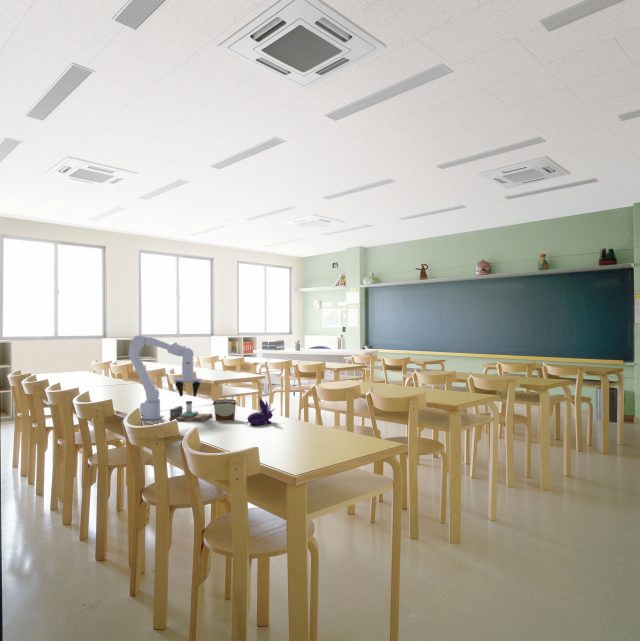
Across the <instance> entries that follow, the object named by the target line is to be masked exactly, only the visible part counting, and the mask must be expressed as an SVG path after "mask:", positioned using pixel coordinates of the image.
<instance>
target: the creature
mask: <svg viewBox="0 0 640 641" xmlns="http://www.w3.org/2000/svg"><path fill="white" fill-rule="evenodd" d="M258 401H259V408H260V410H259V411H254V412H251V413H250V414H249V415H248V416H247V418H246V419H247V422H245V423H246V424H250V425H254V426H260V425H261V426H262V425H265V424H266V423H267V424H269V425H270V424H272V421H271V419H272V417H273V416H274V415H273V413H272V412H274V411H275V408H273V409H271V410H270V406H269V403H268V402H267V400H265V402H264V400H263V399H262V398H261V397H259V400H258Z"/></svg>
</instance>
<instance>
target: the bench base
mask: <svg viewBox="0 0 640 641" xmlns="http://www.w3.org/2000/svg"><path fill="white" fill-rule="evenodd" d="M182 413H183V406H182V405H178V406H175V407H174V408H173V407H172V408H170V409H169V417H168V418H169V419H168V420H174V419H176V420H178V421H177V422H195V421H199V422H200V423H201V422H202V423H203V422H206V421H207V420H209V419H211V418H213V413H198V414H196V415H194V416H192V417H180V414H182Z"/></svg>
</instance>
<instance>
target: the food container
mask: <svg viewBox="0 0 640 641" xmlns="http://www.w3.org/2000/svg"><path fill="white" fill-rule="evenodd" d="M212 405H213V408H214V417H215V418H214V419H215V421H216V422H217V421H218V422H221V421H222V422H235V418H236V416H235V415H236V406H238V403H237V400H236V399H234V398H232V399H230V398H223V399H221V398H220V399H215V400H214V401H213V403H212Z"/></svg>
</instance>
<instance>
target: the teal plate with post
mask: <svg viewBox="0 0 640 641" xmlns="http://www.w3.org/2000/svg"><path fill="white" fill-rule="evenodd" d="M185 405H186V407H185V408H186V411H184V412H182V414H180V417H192V416H194V415H196V414H199V411H198V410H195V411H193V410H192V408H193V401H192V400H187V401H185Z"/></svg>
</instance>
